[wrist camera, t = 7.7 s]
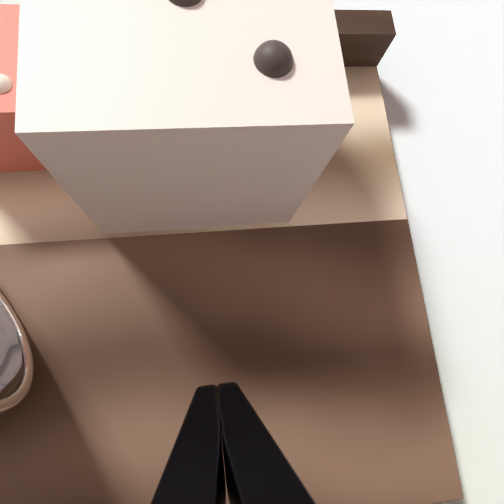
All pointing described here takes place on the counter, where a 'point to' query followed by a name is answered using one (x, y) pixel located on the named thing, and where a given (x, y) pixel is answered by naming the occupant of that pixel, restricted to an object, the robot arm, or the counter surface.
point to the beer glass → (13, 359)
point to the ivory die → (182, 106)
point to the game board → (231, 330)
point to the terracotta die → (11, 97)
